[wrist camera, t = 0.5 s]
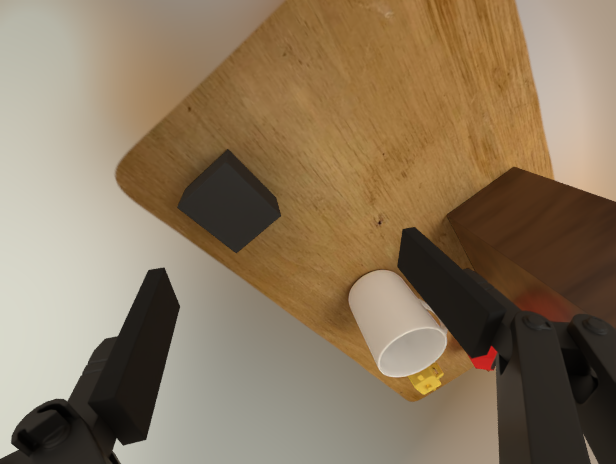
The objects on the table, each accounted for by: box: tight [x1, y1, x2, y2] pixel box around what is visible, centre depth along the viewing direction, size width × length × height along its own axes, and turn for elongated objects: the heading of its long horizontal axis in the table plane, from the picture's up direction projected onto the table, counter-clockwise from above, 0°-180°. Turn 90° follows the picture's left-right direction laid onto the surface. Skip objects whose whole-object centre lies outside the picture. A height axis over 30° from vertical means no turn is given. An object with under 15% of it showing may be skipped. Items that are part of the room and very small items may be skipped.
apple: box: [468, 346, 497, 372], centre depth 50 cm, size 7×7×8 cm
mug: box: [349, 270, 447, 377], centre depth 37 cm, size 9×12×11 cm
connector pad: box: [177, 150, 281, 253], centre depth 27 cm, size 7×6×4 cm
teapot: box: [407, 363, 444, 395], centre depth 51 cm, size 8×6×5 cm
